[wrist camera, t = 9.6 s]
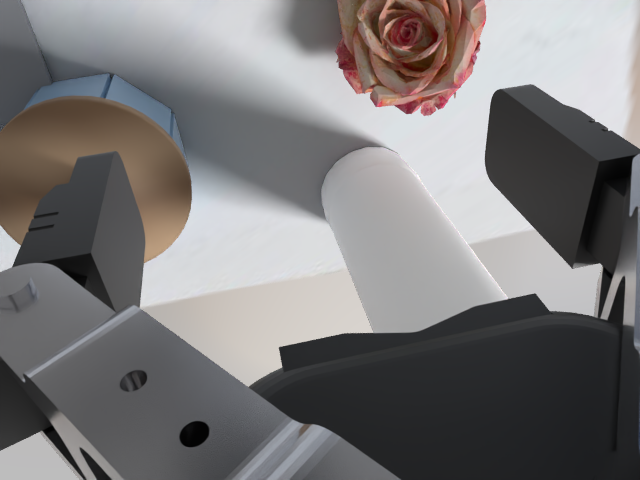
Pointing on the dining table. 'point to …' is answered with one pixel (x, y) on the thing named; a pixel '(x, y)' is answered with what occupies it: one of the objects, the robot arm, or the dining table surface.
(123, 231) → the robot arm
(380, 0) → the flower
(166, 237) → the lid
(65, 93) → the bowl
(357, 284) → the bottle
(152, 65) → the dining table surface
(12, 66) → the mat
